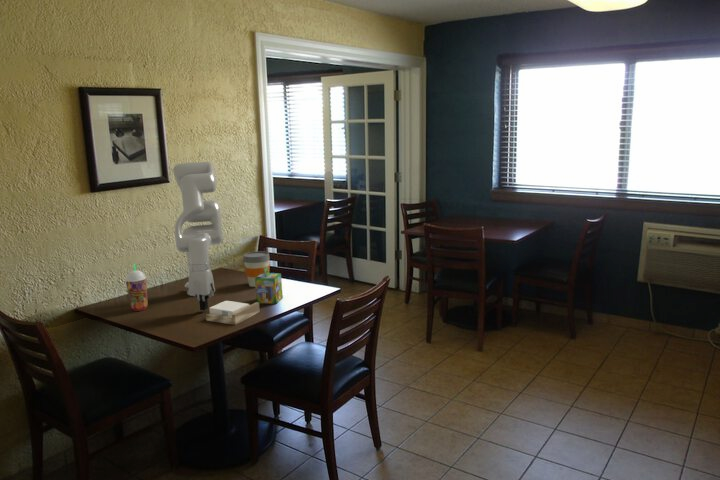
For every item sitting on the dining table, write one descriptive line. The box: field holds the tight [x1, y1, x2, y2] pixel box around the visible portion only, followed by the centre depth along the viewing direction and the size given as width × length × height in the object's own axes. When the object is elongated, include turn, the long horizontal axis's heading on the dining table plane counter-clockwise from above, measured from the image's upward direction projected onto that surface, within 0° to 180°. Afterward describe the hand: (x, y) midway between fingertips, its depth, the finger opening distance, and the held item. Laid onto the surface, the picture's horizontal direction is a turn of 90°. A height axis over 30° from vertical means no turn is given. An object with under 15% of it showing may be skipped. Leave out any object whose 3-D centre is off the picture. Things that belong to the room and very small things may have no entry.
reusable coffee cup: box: [242, 250, 271, 288], centre depth 276 cm, size 13×13×15 cm
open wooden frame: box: [205, 301, 261, 325], centre depth 233 cm, size 14×16×4 cm
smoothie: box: [125, 263, 149, 312], centre depth 244 cm, size 8×8×20 cm
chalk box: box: [255, 267, 284, 305], centre depth 250 cm, size 9×9×15 cm
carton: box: [208, 300, 250, 317], centre depth 232 cm, size 12×10×5 cm
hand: (204, 309), depth 239 cm, fingers closed
